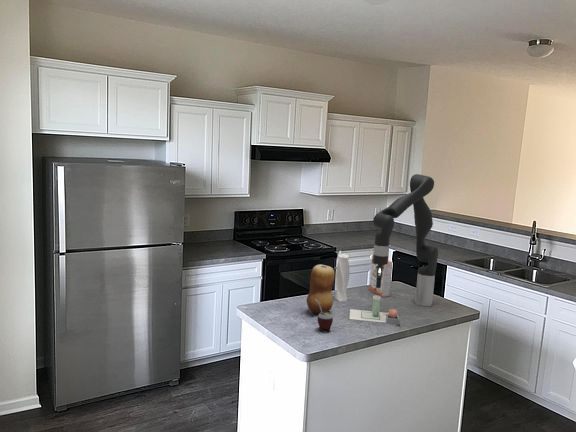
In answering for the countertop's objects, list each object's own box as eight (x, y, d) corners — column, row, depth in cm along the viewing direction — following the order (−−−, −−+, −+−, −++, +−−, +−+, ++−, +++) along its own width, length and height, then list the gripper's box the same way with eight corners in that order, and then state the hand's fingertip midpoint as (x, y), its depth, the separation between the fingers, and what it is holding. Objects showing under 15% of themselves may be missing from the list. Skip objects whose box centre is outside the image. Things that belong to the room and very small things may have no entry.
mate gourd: (335, 330, 222) (337, 299, 219) (324, 334, 216) (326, 303, 214) (322, 325, 227) (324, 295, 224) (311, 329, 221) (313, 298, 219)
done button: (388, 314, 236) (388, 308, 235) (396, 315, 235) (397, 309, 235) (388, 317, 232) (389, 311, 232) (397, 317, 231) (397, 312, 231)
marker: (371, 314, 243) (373, 294, 241) (379, 315, 242) (380, 295, 241) (371, 316, 239) (373, 297, 237) (379, 317, 238) (381, 297, 237)
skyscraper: (331, 299, 266) (334, 250, 262) (342, 298, 270) (345, 249, 265) (338, 303, 259) (341, 253, 255) (350, 302, 262) (353, 253, 258)
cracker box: (368, 290, 287) (371, 256, 284) (377, 289, 289) (380, 256, 286) (381, 297, 274) (384, 262, 271) (390, 296, 276) (393, 261, 273)
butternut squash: (330, 319, 235) (333, 270, 232) (303, 316, 238) (306, 267, 234) (333, 310, 249) (336, 263, 245) (308, 307, 251) (311, 261, 248)
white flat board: (349, 310, 250) (349, 303, 250) (397, 314, 246) (397, 308, 246) (348, 320, 234) (348, 314, 234) (399, 326, 231) (400, 319, 230)
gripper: (388, 257, 229) (385, 292, 231) (388, 251, 241) (385, 284, 244) (373, 256, 230) (370, 290, 232) (373, 250, 243) (371, 283, 245)
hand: (378, 287), depth 238 cm, fingers closed
